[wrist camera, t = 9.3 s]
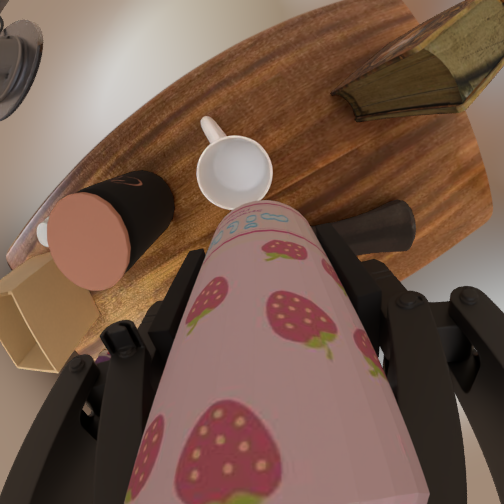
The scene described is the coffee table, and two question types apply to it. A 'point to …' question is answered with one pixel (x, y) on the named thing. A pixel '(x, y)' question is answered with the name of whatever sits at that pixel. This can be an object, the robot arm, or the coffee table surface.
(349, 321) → the beverage can
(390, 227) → the dark brown bone
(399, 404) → the robot arm
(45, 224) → the pill bottle
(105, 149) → the coffee table surface
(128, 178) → the coffee jar
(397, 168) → the coffee table surface
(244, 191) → the mug
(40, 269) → the carton
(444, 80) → the book
